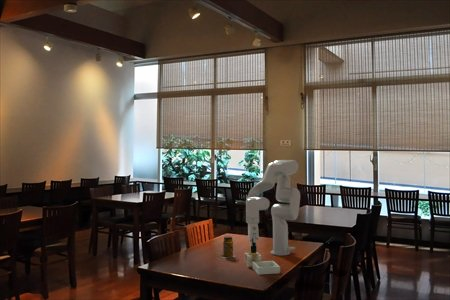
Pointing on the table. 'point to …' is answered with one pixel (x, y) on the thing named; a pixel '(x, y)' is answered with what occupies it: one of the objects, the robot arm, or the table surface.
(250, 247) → the dowel
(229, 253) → the condiment
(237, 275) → the table surface
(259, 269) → the tray
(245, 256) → the socket block
